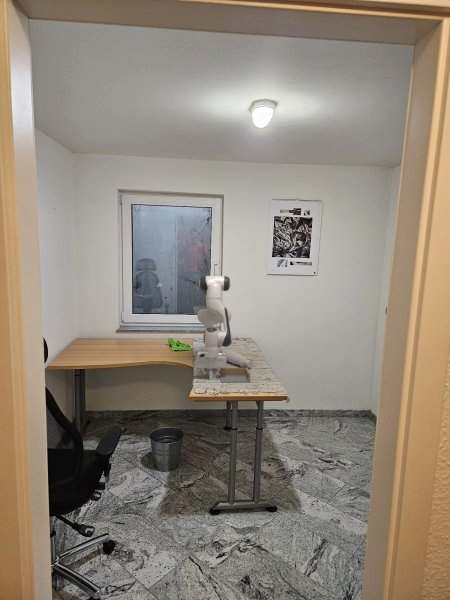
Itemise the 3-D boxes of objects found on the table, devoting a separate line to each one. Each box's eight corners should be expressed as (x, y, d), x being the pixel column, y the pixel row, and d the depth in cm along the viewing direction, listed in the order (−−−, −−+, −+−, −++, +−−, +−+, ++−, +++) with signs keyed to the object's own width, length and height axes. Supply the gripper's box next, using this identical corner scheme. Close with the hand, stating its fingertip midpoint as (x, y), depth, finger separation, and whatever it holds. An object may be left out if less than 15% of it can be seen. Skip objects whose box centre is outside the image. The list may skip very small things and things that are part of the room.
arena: (219, 376, 237) (220, 367, 236) (247, 375, 238) (247, 367, 238) (221, 382, 224) (221, 373, 223) (250, 382, 226) (250, 373, 225)
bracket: (209, 376, 237) (209, 367, 236) (215, 376, 237) (215, 367, 237) (209, 380, 228) (209, 371, 227) (216, 380, 228) (216, 371, 228)
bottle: (216, 356, 272) (243, 367, 249) (222, 345, 274) (249, 355, 251) (224, 361, 277) (251, 372, 254) (229, 351, 279) (256, 361, 256)
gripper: (226, 352, 235) (226, 372, 236) (195, 352, 233) (195, 373, 234) (227, 354, 229) (227, 376, 230) (195, 354, 227) (195, 376, 228)
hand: (210, 374), depth 232 cm, fingers open, 7 cm apart
